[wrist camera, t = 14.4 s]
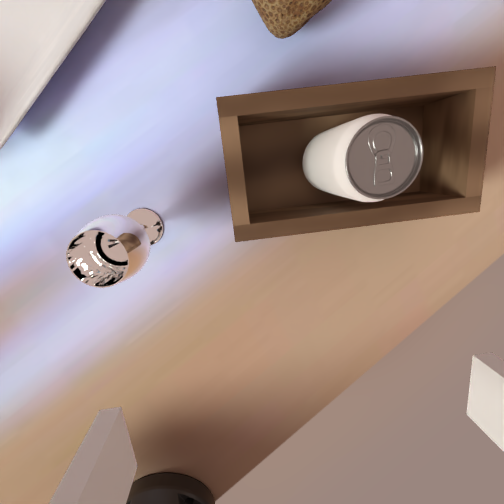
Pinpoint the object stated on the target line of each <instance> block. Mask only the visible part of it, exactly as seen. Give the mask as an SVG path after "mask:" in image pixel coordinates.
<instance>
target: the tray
mask: <svg viewBox="0 0 504 504" xmlns="http://www.w3.org/2000/svg"><path fill="white" fill-rule="evenodd" d="M105 1H106V0H0V149H1V148H2V147H3V146H4V144H5V143H6V141H7V140H8V139H9V137H10V136H11V134H12V133H13V132H14V130H15V129H16V128H17V126H18V125H19V123H20V122H21V120H22V119H23V117H24V116H25V115H26V113H27V112H28V110H29V109H30V108H31V106H32V105H33V103H34V102H35V101H36V99H37V98H38V96H39V95H40V94H41V92H42V91H43V89H44V88H45V87H46V85H47V84H48V82H49V81H50V79H51V78H52V77H53V75H54V74H55V72H56V71H57V70H58V68H59V67H60V65H61V64H62V63H63V61H64V60H65V58H66V57H67V56H68V54H69V53H70V51H71V50H72V49H73V47H74V46H75V44H76V43H77V41H78V40H79V39H80V37H81V36H82V34H83V33H84V32H85V30H86V29H87V27H88V26H89V24H90V23H91V22H92V20H93V19H94V17H95V16H96V14H97V13H98V11H99V10H100V9H101V7H102V6H103V4H104V3H105Z"/></svg>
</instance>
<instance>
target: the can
mask: <svg viewBox="0 0 504 504" xmlns="http://www.w3.org/2000/svg"><path fill="white" fill-rule="evenodd" d="M422 161H423V144H422V140H421V137H420V135H419V133H418V131H417V130H416V128H415V127H414V126H413V125H412V124H411V123H409V122H408V121H406V120H405V119H402V118H400V117H396V116H391V115H388V114H370V115H366V116H363V117H360V118H357V119H355V120H352V121H349V122H347V123H344V124H341V125H339V126H336V127H334V128H331V129H329V130H326V131H324V132H322V133H320V134H318V135H316V136H315V137H314V138H313V139H312V140H311V141H310V142H309V144H308V145H307V147H306V149H305V151H304V155H303V161H302V165H303V171H304V174H305V177H306V178H307V180H308V181H309V183H310V184H311V185H312V186H314V187H315V188H317V189H319V190H321V191H324V192H328V193H331V194H334V195H338V196H342V197H345V198H349V199H353V200H357V201H361V202H377V201H381V200H384V199H387V198H391V197H394V196H396V195H398V194H400V193H401V192H403V191H404V190H406V189H407V188H408V187H409V186H410V185H411V184H412V182H413V181H414V180H415V178H416V177H417V175H418V173H419V171H420V168H421V165H422Z"/></svg>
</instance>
